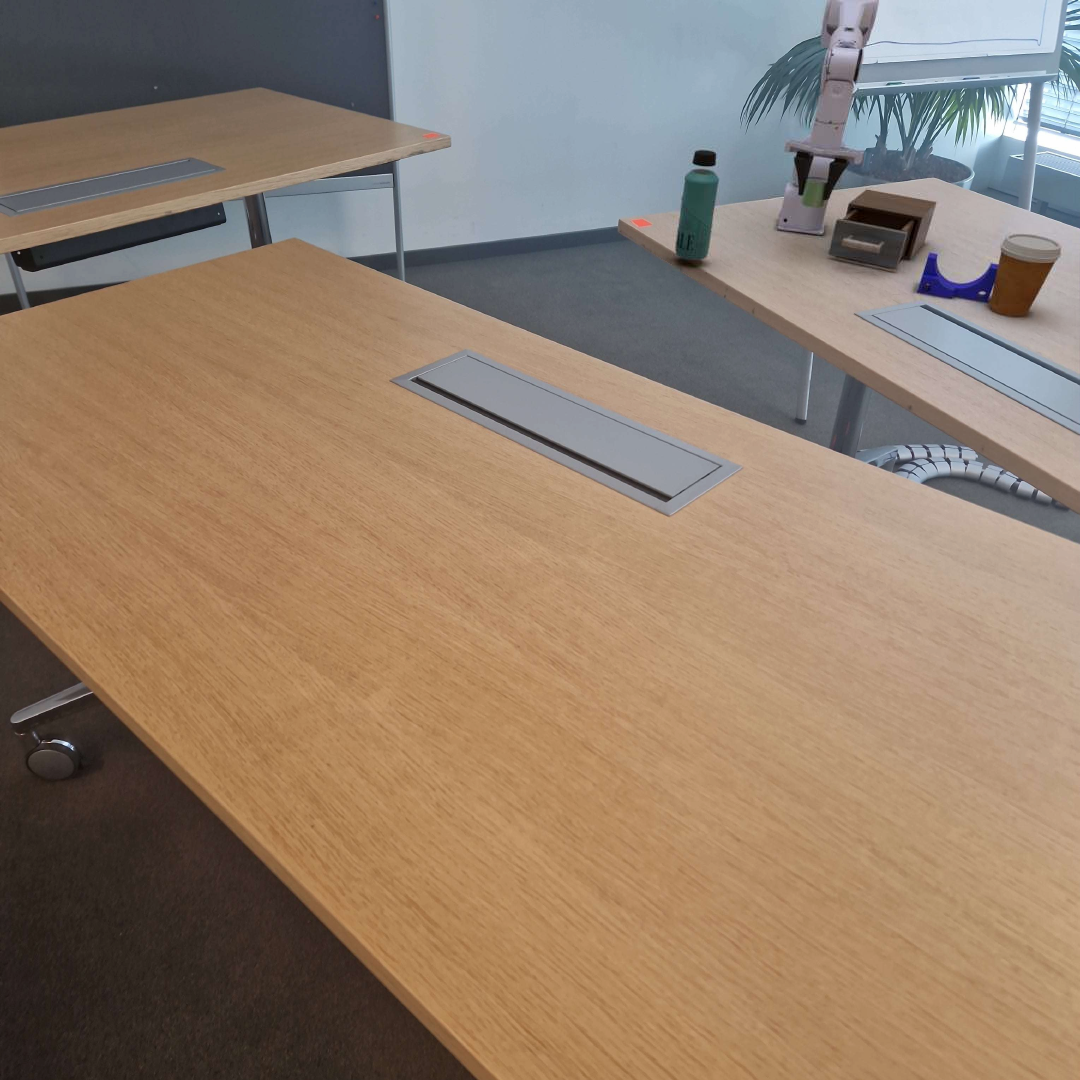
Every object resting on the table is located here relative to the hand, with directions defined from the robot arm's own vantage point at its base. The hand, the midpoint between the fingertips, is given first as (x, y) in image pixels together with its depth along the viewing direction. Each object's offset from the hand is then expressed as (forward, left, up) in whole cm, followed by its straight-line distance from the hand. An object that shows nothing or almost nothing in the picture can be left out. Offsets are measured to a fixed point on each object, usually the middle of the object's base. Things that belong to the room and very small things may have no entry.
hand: (813, 196), depth 171 cm
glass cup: (0, 0, -1) cm, 1 cm away
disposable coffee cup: (+37, -19, -11) cm, 43 cm away
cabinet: (+16, +11, -10) cm, 22 cm away
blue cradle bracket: (+28, -15, -11) cm, 33 cm away
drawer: (+12, -2, -9) cm, 16 cm away
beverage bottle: (-20, -17, -11) cm, 28 cm away
